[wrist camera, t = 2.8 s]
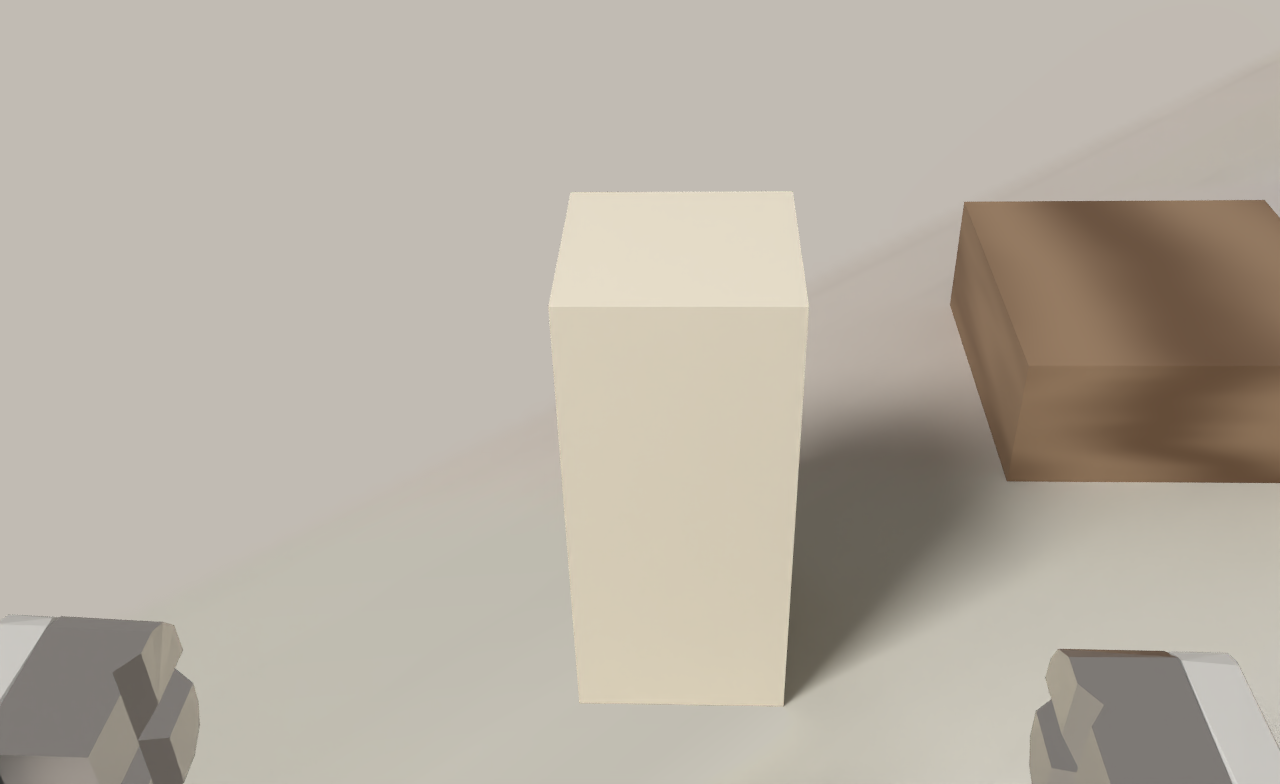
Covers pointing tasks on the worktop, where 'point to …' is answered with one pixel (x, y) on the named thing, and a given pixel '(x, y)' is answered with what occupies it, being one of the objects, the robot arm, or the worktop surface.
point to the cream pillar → (680, 440)
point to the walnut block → (1125, 337)
